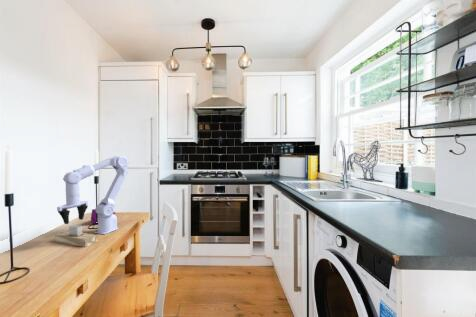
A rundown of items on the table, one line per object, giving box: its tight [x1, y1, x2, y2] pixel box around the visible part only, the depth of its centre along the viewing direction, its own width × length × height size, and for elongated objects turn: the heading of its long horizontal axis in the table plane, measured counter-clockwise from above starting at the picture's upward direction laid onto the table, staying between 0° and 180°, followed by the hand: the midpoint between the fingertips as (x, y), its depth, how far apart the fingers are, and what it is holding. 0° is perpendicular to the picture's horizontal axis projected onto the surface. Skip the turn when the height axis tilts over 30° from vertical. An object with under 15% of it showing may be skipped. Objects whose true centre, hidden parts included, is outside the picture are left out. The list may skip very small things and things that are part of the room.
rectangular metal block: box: [68, 224, 83, 237], centre depth 118 cm, size 2×6×8 cm, turn 70°
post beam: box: [54, 230, 99, 248], centre depth 118 cm, size 6×22×4 cm, turn 69°
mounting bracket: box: [90, 208, 116, 225], centre depth 155 cm, size 9×8×18 cm
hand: (74, 221), depth 121 cm, fingers open, 7 cm apart
